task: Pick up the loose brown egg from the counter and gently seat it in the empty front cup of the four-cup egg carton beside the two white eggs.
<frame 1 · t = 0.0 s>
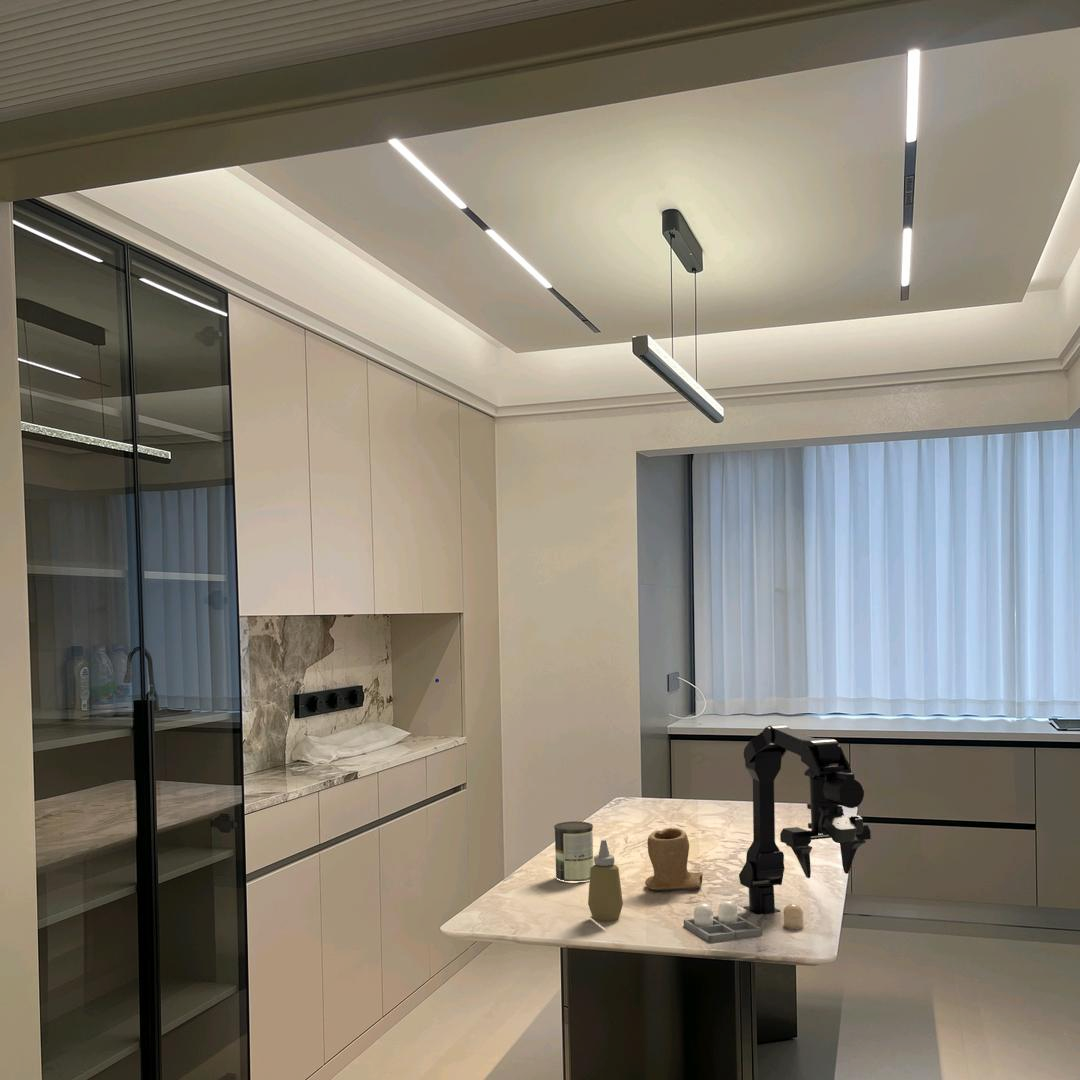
hand: (827, 875, 223), 15 cm above the table, tool pointing down, fingers open, 9 cm apart
egg carton: (722, 932, 234), on the table
stone cup: (675, 890, 270), on the table
brown egg: (793, 928, 236), on the table
white egg back: (703, 928, 235), resting on egg carton
squeeze bottle: (605, 920, 245), on the table
white egg left: (728, 925, 237), resting on egg carton
coffee can: (574, 879, 283), on the table
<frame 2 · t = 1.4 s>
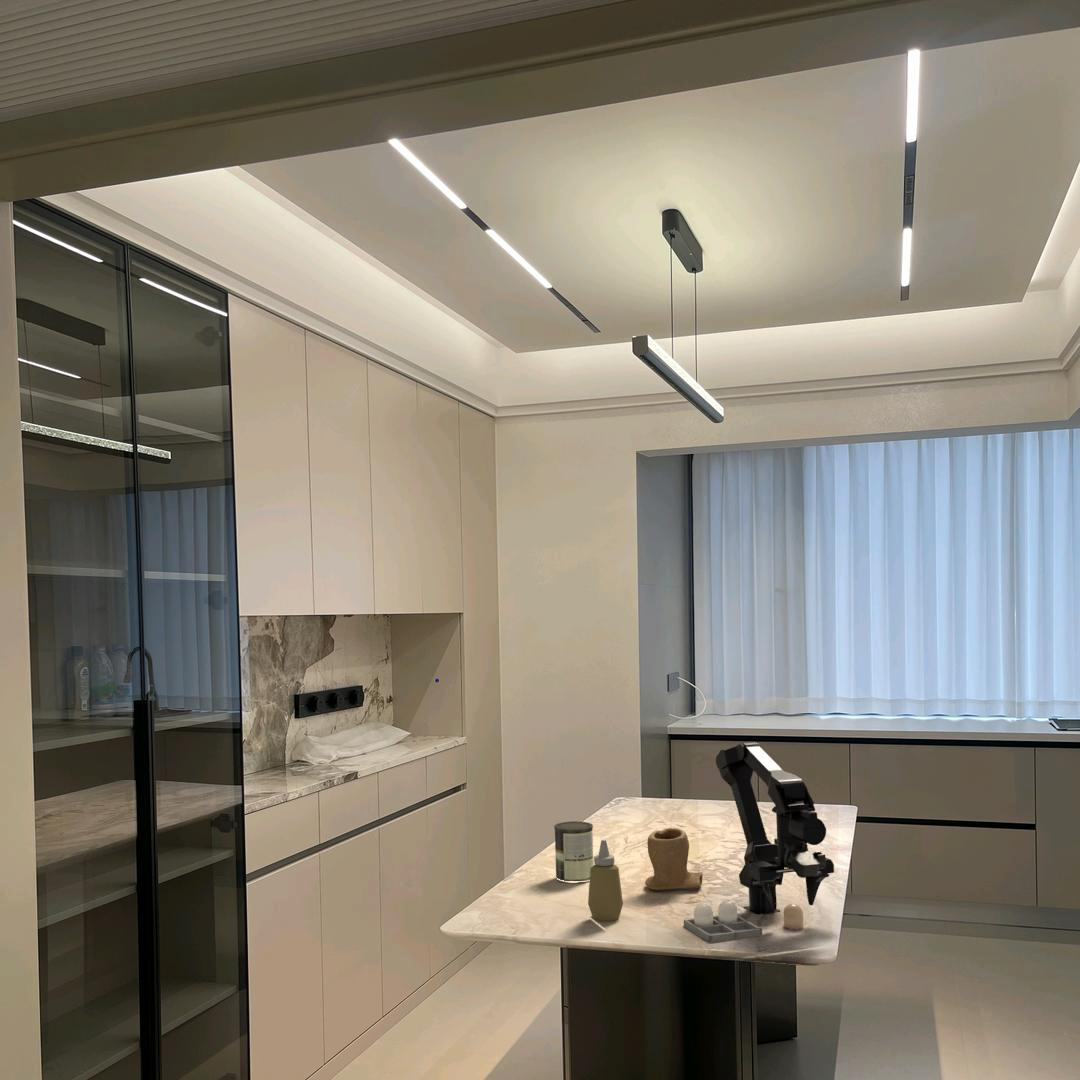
hand: (792, 907, 236), 4 cm above the table, tool pointing down, fingers open, 9 cm apart
nothing on the table moved.
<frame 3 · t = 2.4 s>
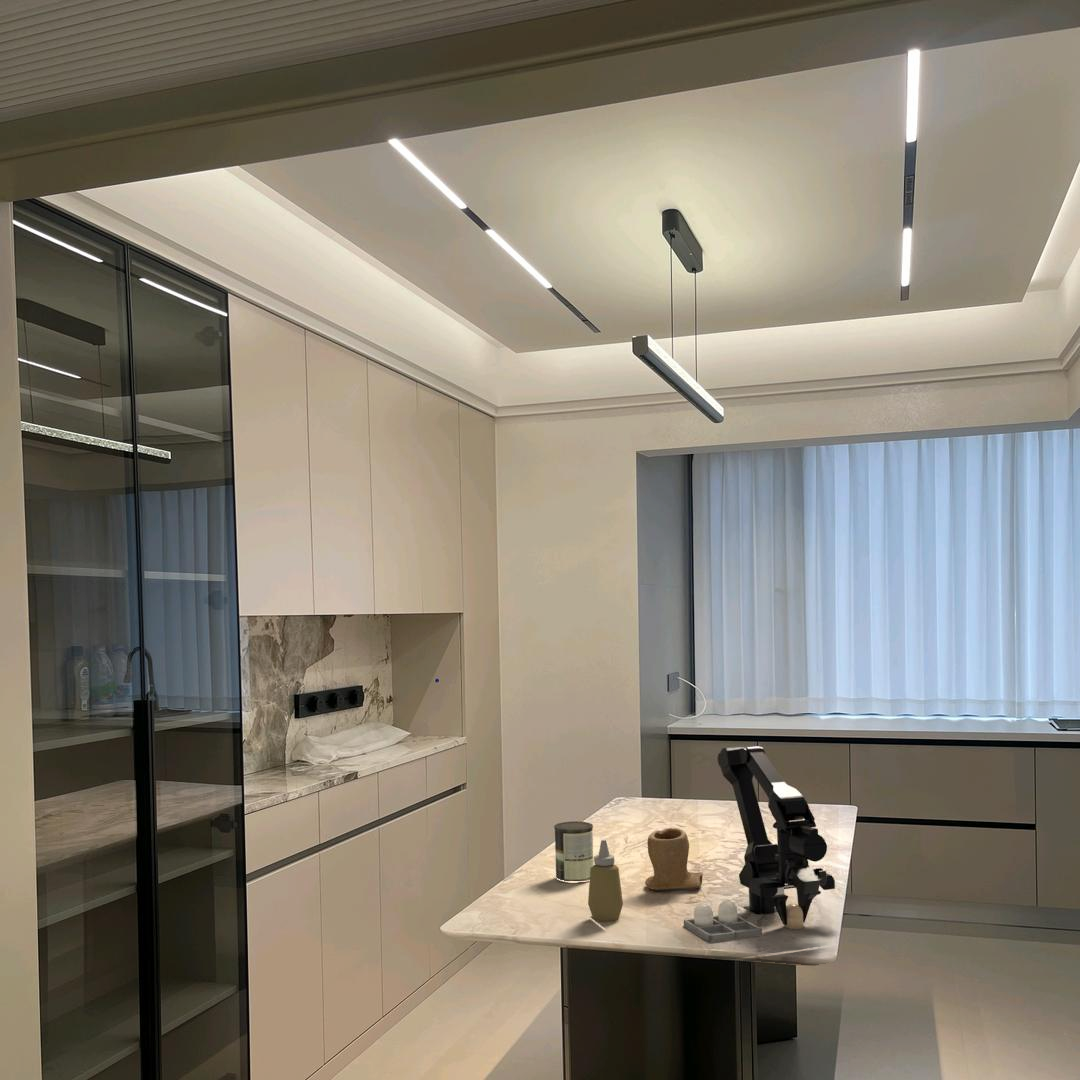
hand: (793, 923, 236), 1 cm above the table, tool pointing down, fingers closed on brown egg, 4 cm apart
brown egg: (793, 928, 236), on the table, touching gripper
everything else where it was.
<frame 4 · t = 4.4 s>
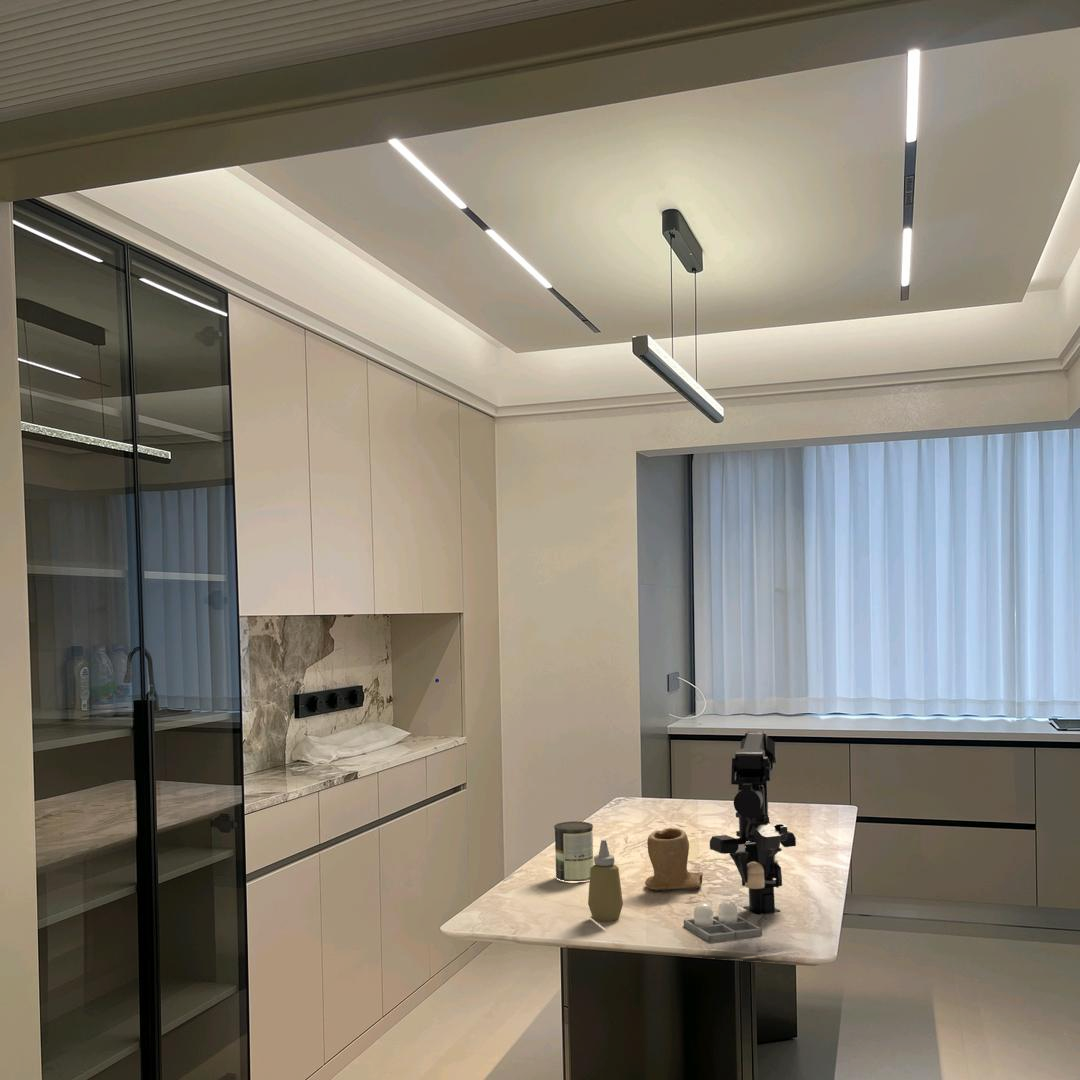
hand: (754, 881, 233), 11 cm above the table, tool pointing down, fingers closed on brown egg, 4 cm apart
brown egg: (754, 886, 233), point 10 cm above the table, touching gripper
everything else where it was.
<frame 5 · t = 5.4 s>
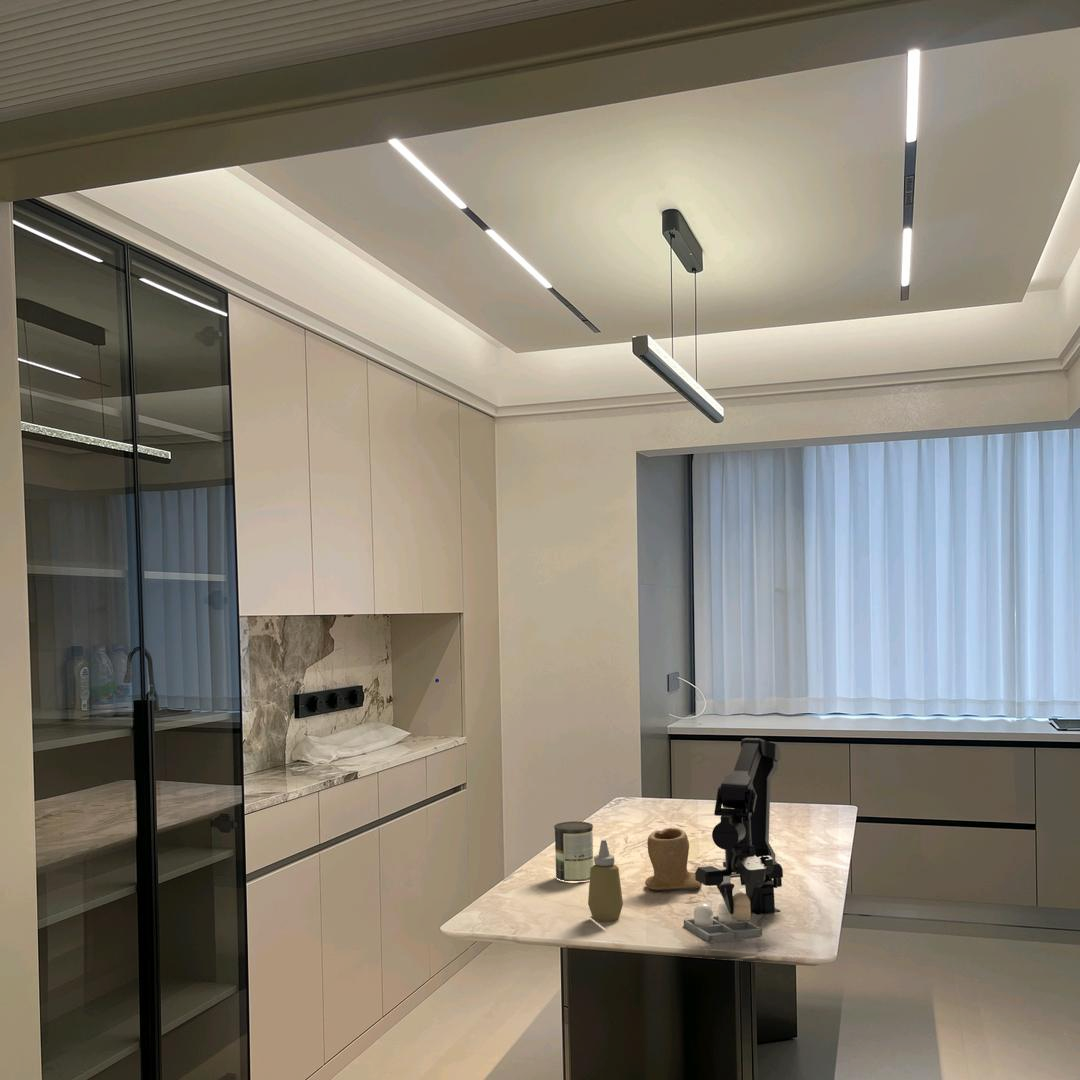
hand: (740, 912, 232), 5 cm above the table, tool pointing down, fingers closed on brown egg, 4 cm apart
brown egg: (741, 917, 232), point 4 cm above the table, touching gripper
everything else where it was.
when the fingers open (3 cm above the table, at t = 6.2 s): brown egg stays where it is, resting on egg carton.
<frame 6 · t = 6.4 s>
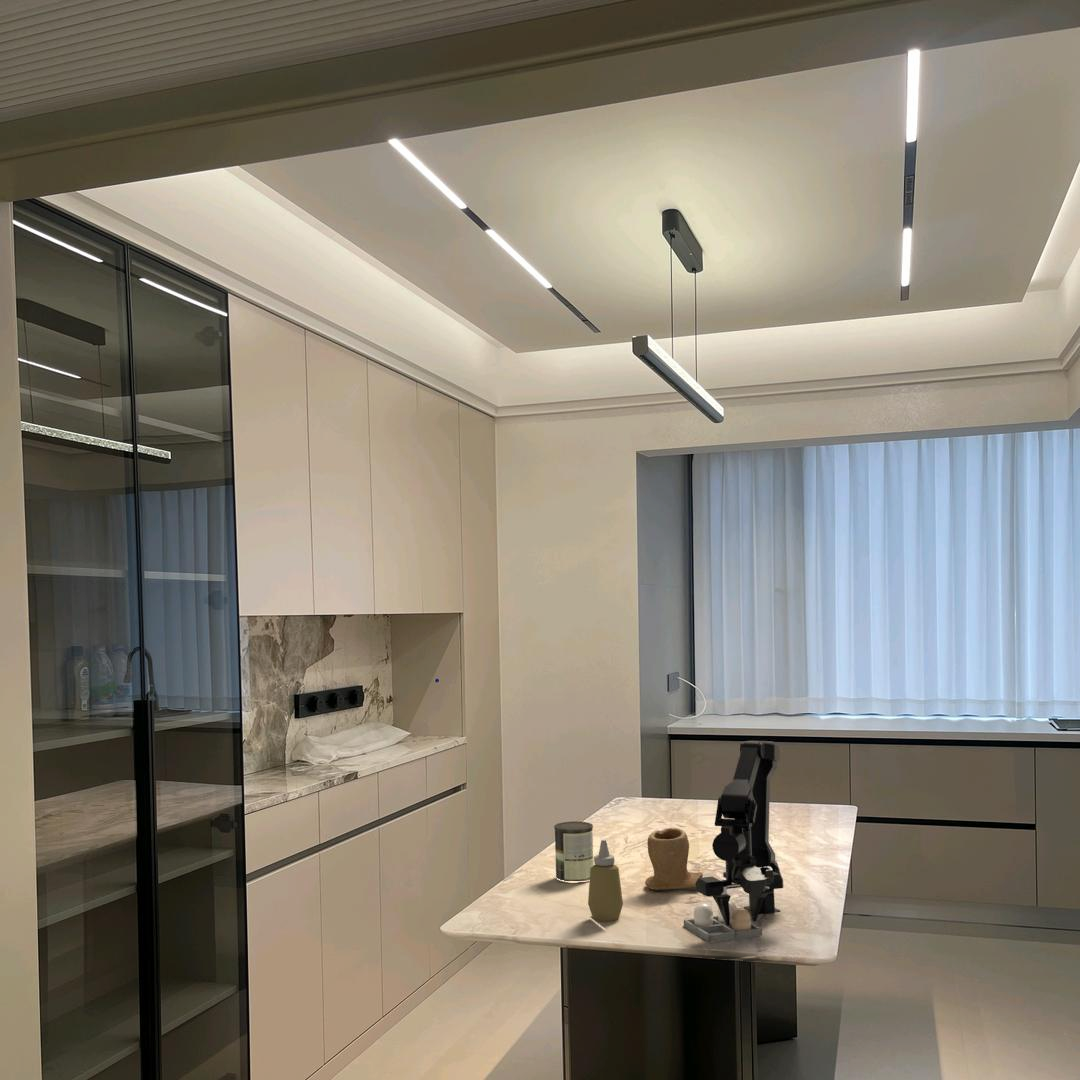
hand: (741, 923, 232), 2 cm above the table, tool pointing down, fingers open, 6 cm apart
brown egg: (741, 932, 232), point 1 cm above the table, touching egg carton
everything else where it was.
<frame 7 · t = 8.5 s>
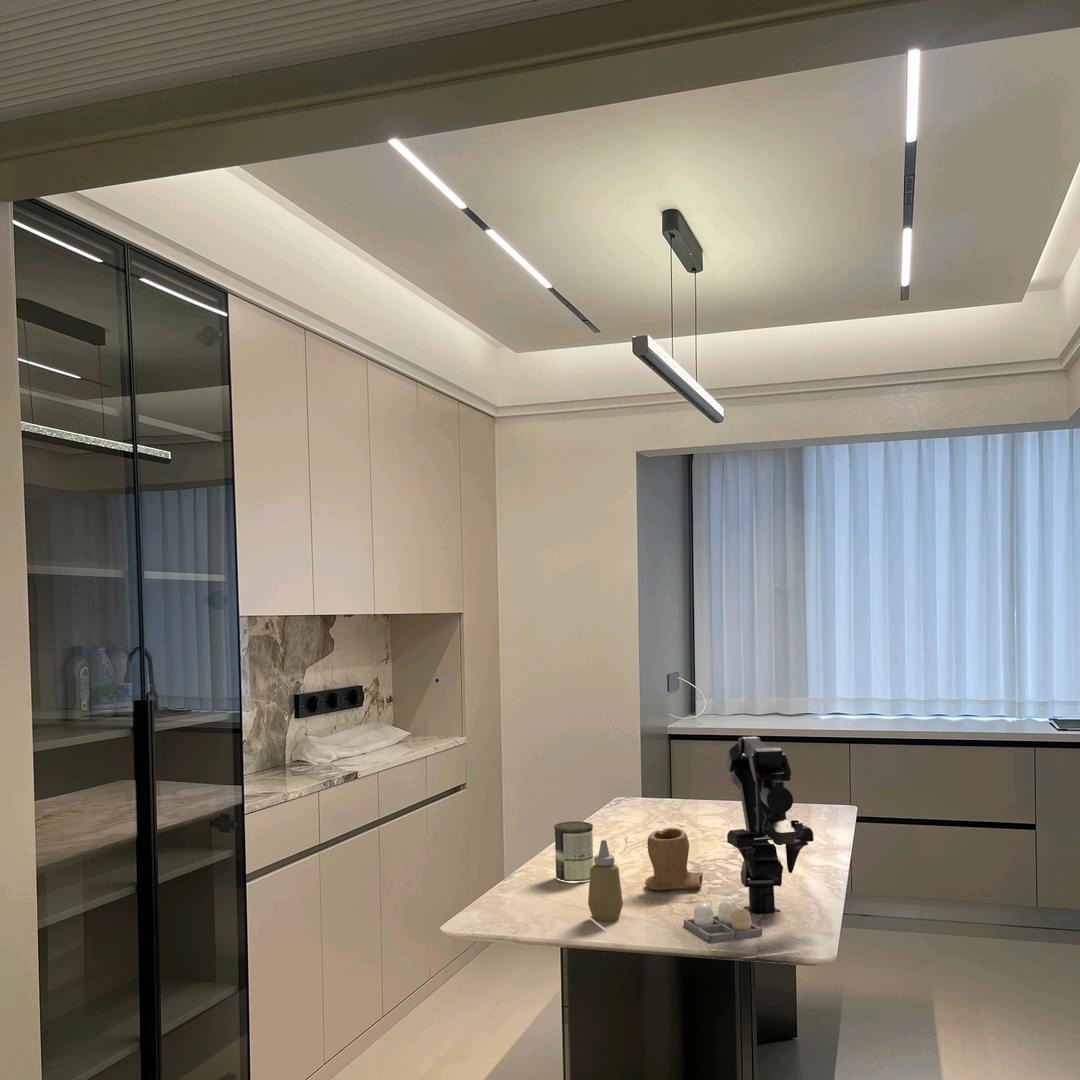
hand: (771, 874, 238), 11 cm above the table, tool pointing down, fingers open, 9 cm apart
nothing on the table moved.
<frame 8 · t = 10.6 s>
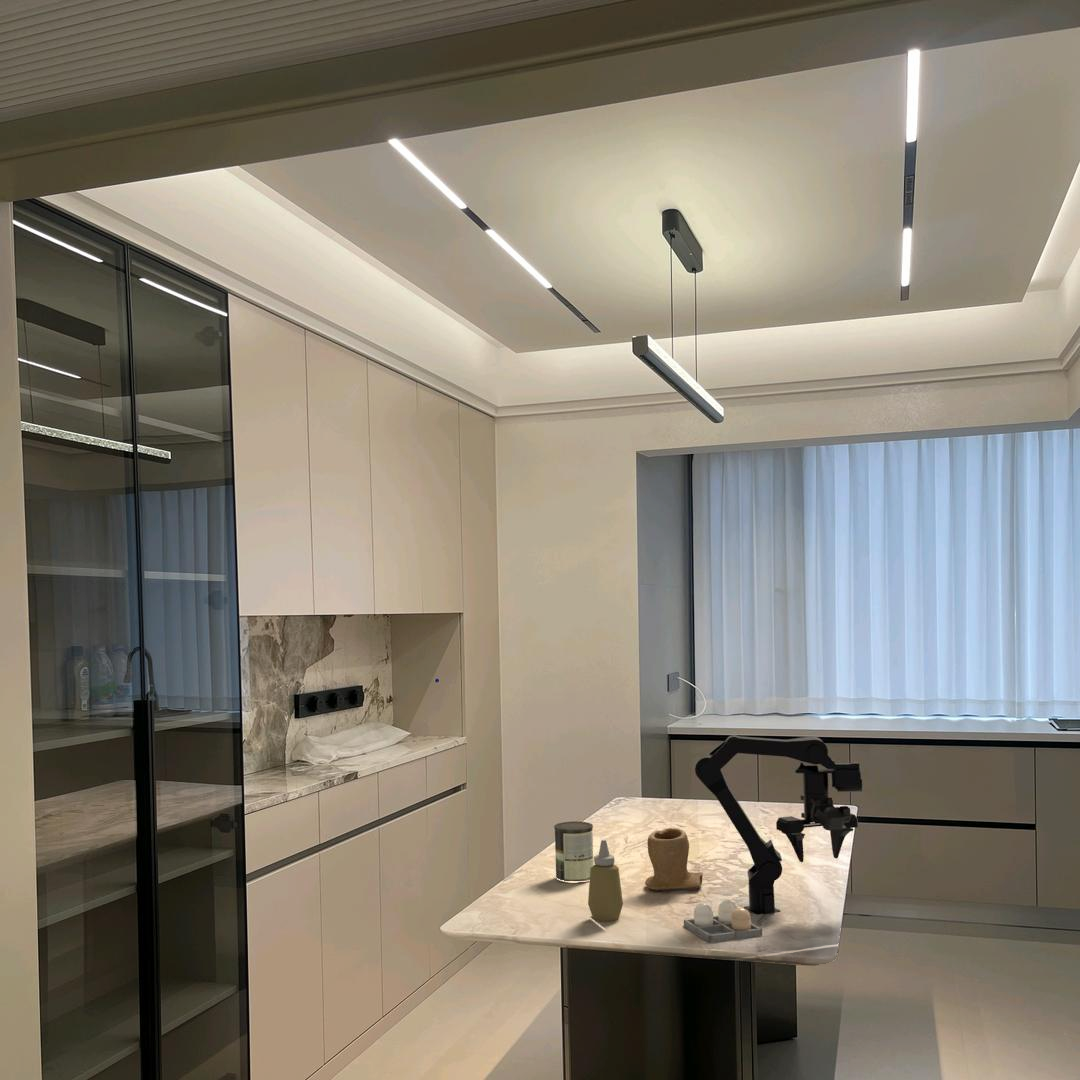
hand: (818, 860, 248), 12 cm above the table, tool pointing down, fingers open, 9 cm apart
nothing on the table moved.
at the end: brown egg 0.1 cm from the target spot on the egg carton, point 0.5 cm above the egg carton's base; brown egg tilted 0°; the gripper is holding nothing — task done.
